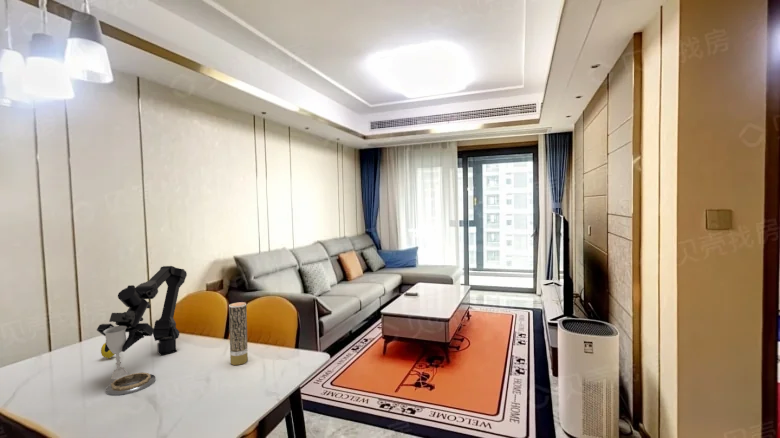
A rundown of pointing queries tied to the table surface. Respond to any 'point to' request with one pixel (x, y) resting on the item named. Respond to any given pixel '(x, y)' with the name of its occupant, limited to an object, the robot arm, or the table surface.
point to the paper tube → (238, 333)
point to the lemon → (106, 354)
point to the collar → (130, 384)
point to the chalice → (116, 347)
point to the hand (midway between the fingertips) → (114, 351)
